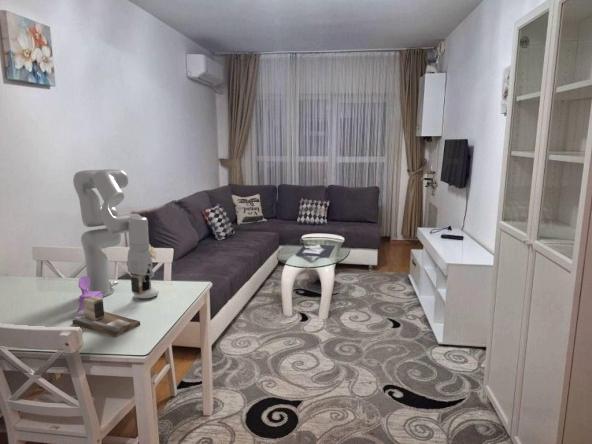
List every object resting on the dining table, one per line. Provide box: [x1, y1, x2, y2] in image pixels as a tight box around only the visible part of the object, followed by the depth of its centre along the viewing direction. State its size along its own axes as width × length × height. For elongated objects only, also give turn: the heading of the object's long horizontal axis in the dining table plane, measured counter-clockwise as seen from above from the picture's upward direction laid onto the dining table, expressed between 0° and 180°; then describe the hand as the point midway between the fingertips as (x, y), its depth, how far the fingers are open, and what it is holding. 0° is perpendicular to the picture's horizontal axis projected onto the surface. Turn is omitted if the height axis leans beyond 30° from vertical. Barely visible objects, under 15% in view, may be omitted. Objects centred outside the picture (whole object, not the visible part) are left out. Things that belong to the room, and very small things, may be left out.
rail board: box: [72, 296, 141, 338], centre depth 165 cm, size 12×25×10 cm, turn 63°
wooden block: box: [130, 274, 152, 295], centre depth 172 cm, size 4×7×8 cm
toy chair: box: [76, 275, 104, 313], centre depth 180 cm, size 8×9×15 cm
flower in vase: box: [133, 243, 160, 299], centre depth 196 cm, size 13×11×25 cm
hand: (141, 288), depth 173 cm, fingers closed on wooden block, 4 cm apart
